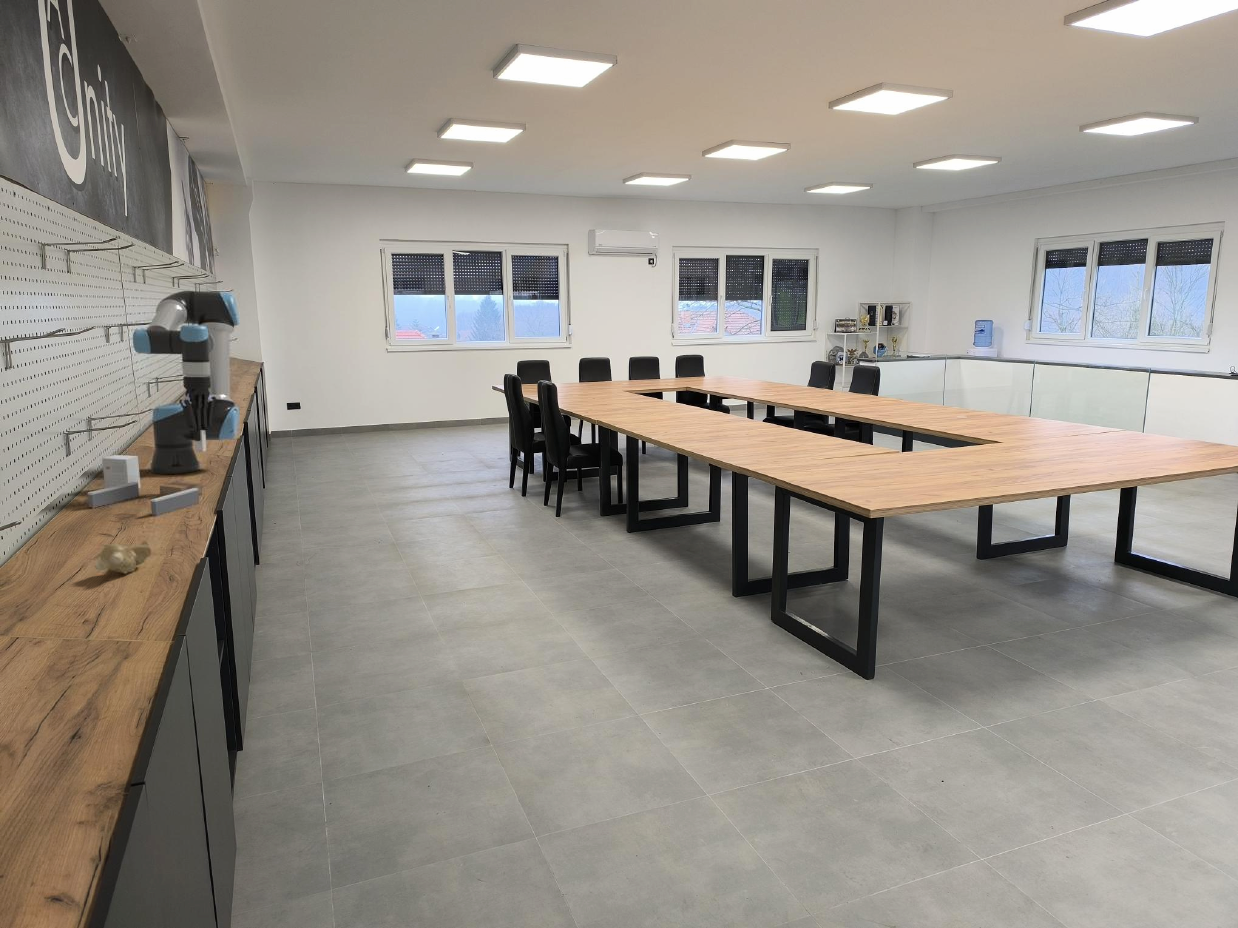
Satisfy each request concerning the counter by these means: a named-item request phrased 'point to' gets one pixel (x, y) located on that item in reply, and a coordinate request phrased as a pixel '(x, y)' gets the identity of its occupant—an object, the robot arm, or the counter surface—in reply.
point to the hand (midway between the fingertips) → (201, 450)
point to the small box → (120, 470)
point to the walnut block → (179, 487)
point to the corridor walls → (132, 491)
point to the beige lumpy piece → (123, 557)
